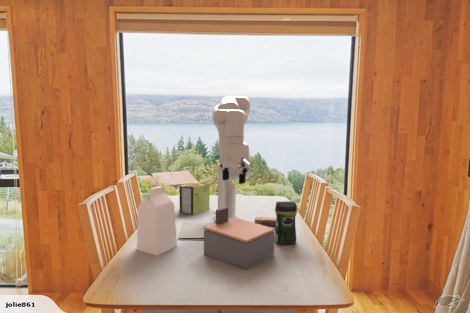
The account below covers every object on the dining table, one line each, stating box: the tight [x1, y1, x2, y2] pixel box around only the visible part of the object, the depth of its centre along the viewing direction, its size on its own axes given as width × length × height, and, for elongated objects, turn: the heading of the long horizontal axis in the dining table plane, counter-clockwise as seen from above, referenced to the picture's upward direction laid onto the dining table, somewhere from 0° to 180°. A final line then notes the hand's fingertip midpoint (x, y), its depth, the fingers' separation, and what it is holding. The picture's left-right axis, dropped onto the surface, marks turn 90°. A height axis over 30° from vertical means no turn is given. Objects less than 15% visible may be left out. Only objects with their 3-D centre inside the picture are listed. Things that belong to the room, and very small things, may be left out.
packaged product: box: [254, 216, 276, 229], centre depth 178 cm, size 18×5×10 cm
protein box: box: [179, 181, 211, 216], centre depth 203 cm, size 10×15×16 cm
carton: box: [203, 229, 275, 271], centre depth 142 cm, size 22×18×10 cm
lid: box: [203, 207, 275, 243], centre depth 140 cm, size 22×18×7 cm
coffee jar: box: [274, 201, 298, 245], centre depth 156 cm, size 10×8×19 cm
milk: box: [136, 185, 178, 256], centre depth 146 cm, size 12×12×26 cm
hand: (233, 181), depth 146 cm, fingers open, 9 cm apart
